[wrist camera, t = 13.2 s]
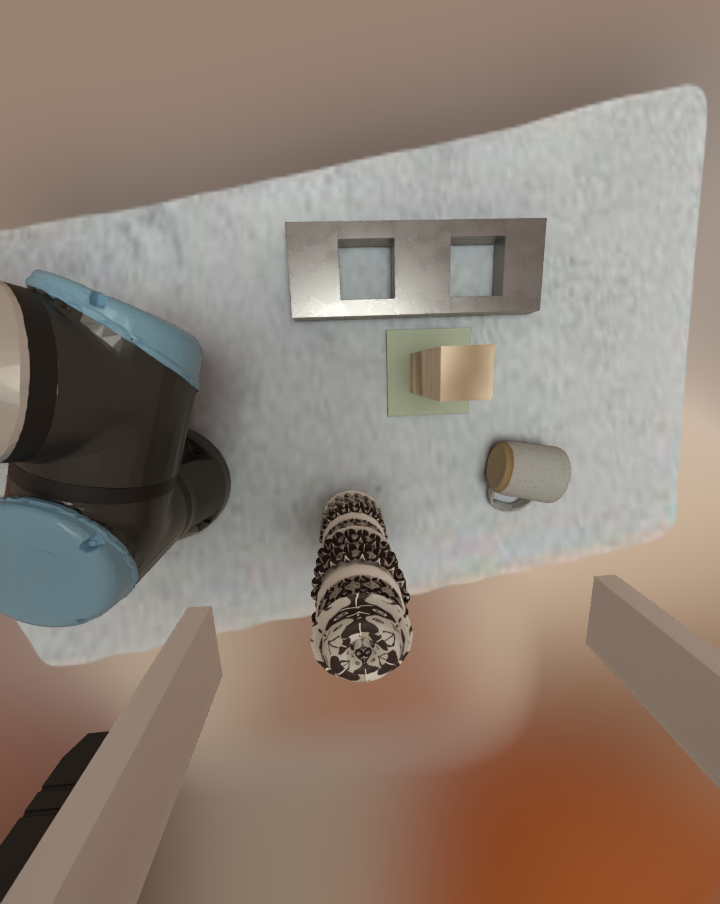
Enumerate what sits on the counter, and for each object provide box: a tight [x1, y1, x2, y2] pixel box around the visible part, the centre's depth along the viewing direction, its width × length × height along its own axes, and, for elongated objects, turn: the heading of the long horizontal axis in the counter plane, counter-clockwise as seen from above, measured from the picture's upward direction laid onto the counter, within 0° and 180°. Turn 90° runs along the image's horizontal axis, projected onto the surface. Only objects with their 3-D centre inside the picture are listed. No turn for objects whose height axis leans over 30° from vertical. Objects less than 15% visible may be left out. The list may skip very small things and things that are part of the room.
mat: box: [386, 328, 471, 416], centre depth 46 cm, size 11×11×1 cm
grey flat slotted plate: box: [285, 218, 547, 321], centre depth 42 cm, size 30×10×3 cm, turn 92°
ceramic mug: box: [486, 441, 571, 512], centre depth 47 cm, size 11×8×8 cm
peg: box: [410, 344, 495, 402], centre depth 39 cm, size 5×5×14 cm
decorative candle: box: [310, 490, 413, 682], centre depth 38 cm, size 9×9×25 cm
